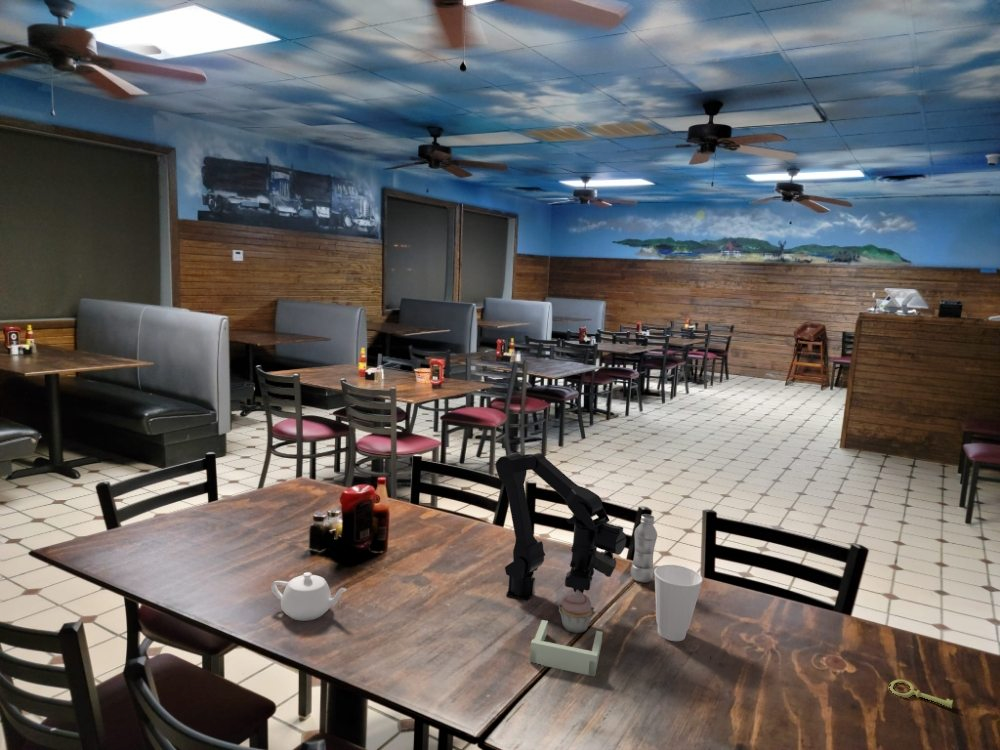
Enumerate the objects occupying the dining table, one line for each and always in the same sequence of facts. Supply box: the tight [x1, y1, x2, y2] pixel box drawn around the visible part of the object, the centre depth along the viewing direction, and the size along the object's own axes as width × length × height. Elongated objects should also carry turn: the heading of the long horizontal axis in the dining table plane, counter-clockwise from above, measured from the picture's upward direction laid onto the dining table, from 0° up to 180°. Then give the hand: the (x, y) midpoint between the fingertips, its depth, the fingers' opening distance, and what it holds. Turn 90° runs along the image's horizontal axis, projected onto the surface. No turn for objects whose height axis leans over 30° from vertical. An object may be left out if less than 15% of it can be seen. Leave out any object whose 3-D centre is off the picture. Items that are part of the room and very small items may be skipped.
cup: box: [653, 564, 704, 642], centre depth 168 cm, size 12×12×16 cm
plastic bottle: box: [630, 513, 658, 584], centre depth 197 cm, size 6×7×20 cm
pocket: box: [529, 619, 603, 677], centre depth 157 cm, size 15×14×5 cm
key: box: [888, 679, 954, 709], centre depth 151 cm, size 7×12×2 cm, turn 67°
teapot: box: [270, 572, 347, 622], centre depth 167 cm, size 20×12×10 cm, turn 79°
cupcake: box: [557, 590, 596, 634], centre depth 169 cm, size 9×9×10 cm
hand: (579, 598), depth 174 cm, fingers closed
